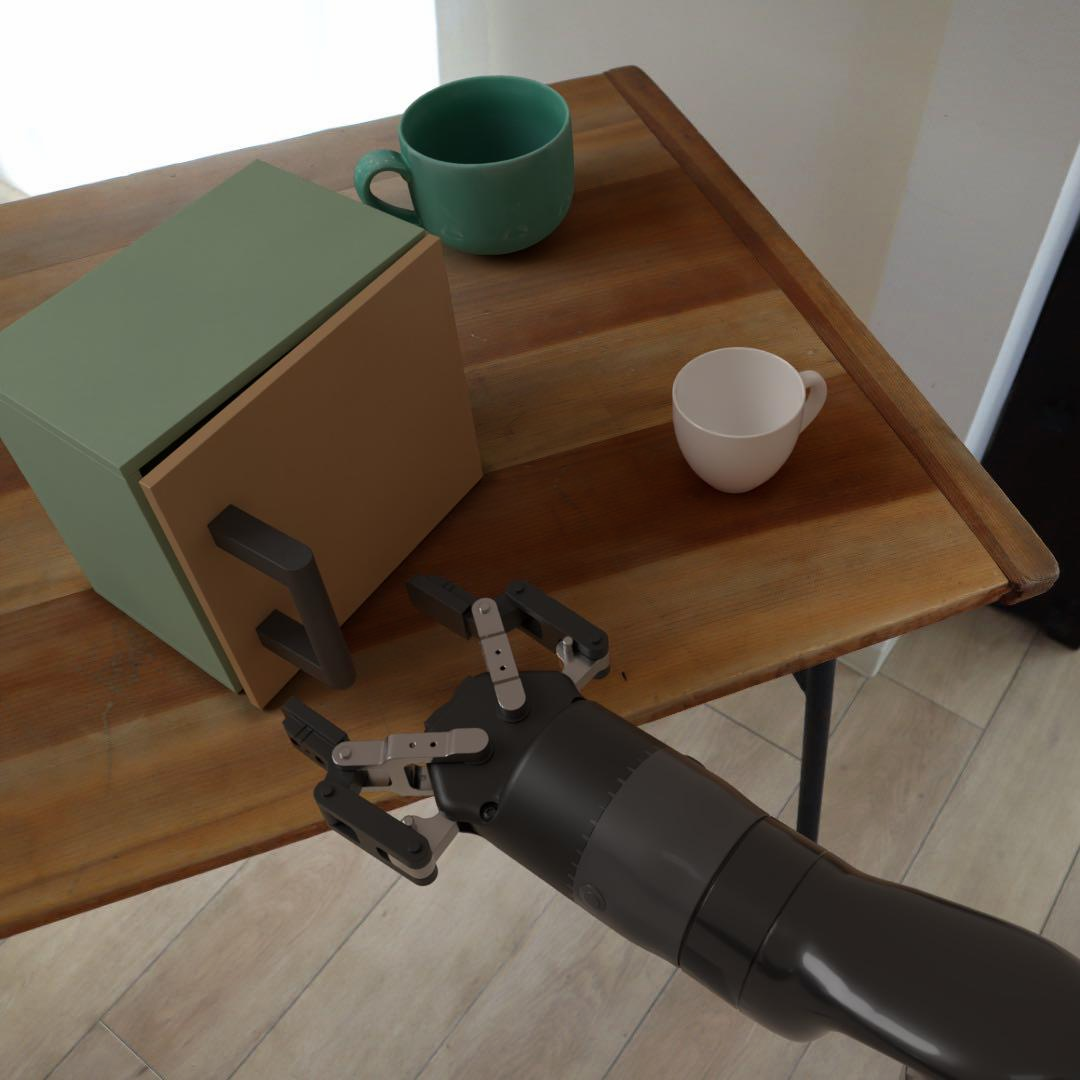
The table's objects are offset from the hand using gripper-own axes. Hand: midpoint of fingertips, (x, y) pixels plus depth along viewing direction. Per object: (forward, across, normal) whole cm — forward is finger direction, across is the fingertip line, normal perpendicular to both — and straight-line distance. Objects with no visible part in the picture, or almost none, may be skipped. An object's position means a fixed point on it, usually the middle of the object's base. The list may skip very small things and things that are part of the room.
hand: (353, 646), depth 56 cm
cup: (-5, +28, -10) cm, 31 cm away
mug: (+26, +38, -10) cm, 47 cm away
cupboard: (+16, +8, -10) cm, 20 cm away
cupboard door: (+5, +8, -9) cm, 13 cm away
